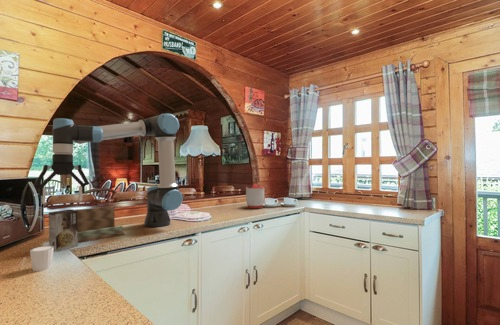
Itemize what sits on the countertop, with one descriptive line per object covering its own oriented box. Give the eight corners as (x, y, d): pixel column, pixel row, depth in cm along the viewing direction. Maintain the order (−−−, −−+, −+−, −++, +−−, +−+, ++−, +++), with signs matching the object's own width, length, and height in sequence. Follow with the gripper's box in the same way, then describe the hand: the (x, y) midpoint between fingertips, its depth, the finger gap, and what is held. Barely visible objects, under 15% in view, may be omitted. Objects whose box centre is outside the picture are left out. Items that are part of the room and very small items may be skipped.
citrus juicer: (254, 205, 240) (254, 182, 240) (268, 207, 227) (268, 183, 227) (240, 207, 230) (240, 183, 230) (254, 210, 217) (254, 184, 217)
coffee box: (70, 243, 128) (70, 209, 128) (78, 246, 125) (78, 210, 125) (48, 249, 120) (48, 212, 120) (55, 251, 117) (55, 213, 117)
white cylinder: (28, 268, 99) (28, 248, 99) (52, 263, 104) (51, 244, 104) (31, 273, 94) (31, 252, 94) (55, 268, 99) (55, 248, 99)
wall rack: (113, 228, 157) (113, 205, 157) (124, 234, 144) (123, 209, 144) (67, 236, 142) (67, 210, 142) (74, 243, 129) (74, 215, 129)
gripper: (92, 154, 134) (92, 198, 134) (26, 153, 117) (25, 203, 117) (96, 154, 128) (96, 200, 128) (27, 152, 111) (27, 205, 111)
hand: (62, 202), depth 123 cm, fingers open, 13 cm apart
